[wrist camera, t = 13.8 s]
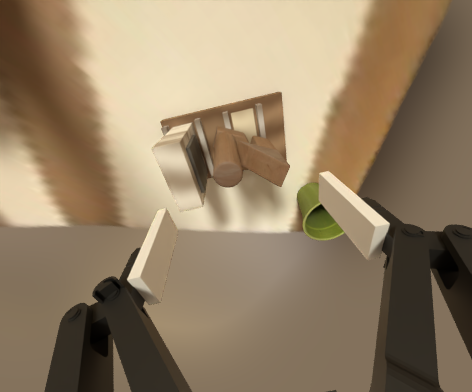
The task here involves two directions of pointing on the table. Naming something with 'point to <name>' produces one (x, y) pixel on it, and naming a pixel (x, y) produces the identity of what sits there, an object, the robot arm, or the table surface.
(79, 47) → the table surface
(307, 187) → the plant pot
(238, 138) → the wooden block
